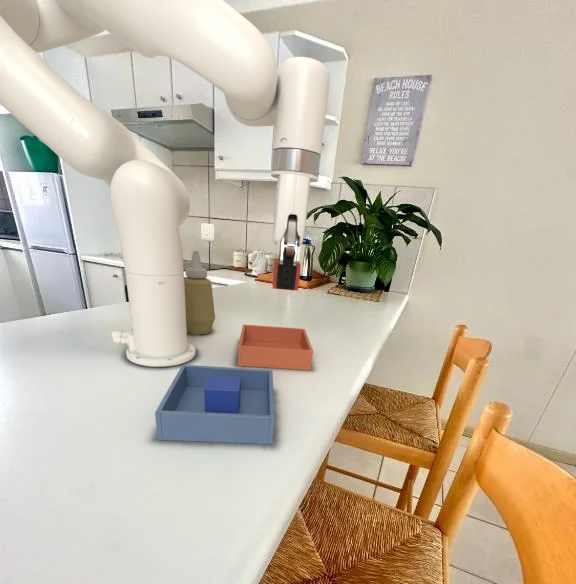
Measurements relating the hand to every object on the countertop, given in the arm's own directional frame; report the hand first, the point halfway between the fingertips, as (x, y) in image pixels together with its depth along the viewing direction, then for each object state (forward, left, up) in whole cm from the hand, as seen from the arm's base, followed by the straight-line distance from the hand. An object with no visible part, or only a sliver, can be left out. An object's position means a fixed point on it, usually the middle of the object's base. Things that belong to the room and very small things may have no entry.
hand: (284, 285), depth 59 cm
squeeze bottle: (-19, +16, -15) cm, 29 cm away
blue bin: (-9, -20, -15) cm, 27 cm away
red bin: (-1, +4, -15) cm, 16 cm away
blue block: (-9, -21, -15) cm, 27 cm away
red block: (0, 0, 0) cm, 0 cm away
